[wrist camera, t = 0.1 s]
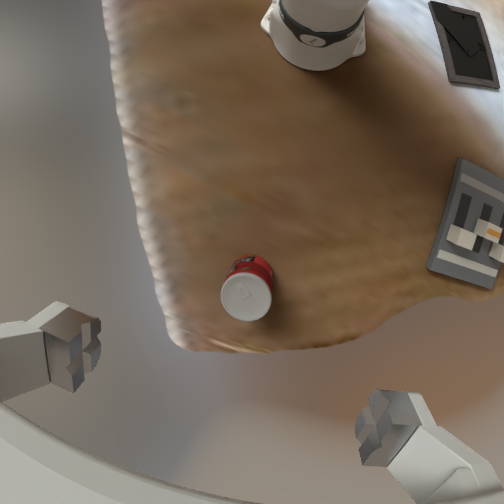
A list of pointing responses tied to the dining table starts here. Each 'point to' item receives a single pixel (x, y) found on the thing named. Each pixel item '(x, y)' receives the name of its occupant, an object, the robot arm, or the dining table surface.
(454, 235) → the block
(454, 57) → the picture frame
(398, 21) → the dining table surface
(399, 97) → the dining table surface
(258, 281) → the canned food
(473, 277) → the panel
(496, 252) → the breaker
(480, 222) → the breaker mid
